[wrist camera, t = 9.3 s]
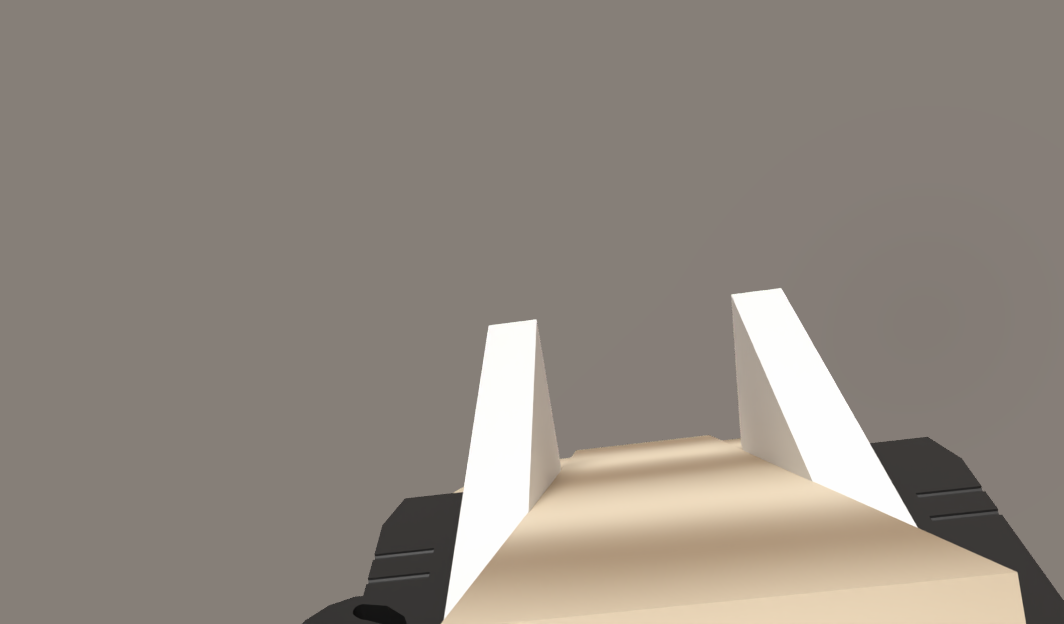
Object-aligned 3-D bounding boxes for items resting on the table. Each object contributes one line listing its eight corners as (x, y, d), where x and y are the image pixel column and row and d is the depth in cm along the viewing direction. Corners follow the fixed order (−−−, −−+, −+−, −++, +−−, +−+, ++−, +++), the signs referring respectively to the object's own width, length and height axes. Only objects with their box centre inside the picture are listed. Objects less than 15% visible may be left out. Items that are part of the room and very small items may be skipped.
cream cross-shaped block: (2018, 1182, 4) (1841, 490, 4) (-191, 1272, 5) (-213, 694, 5) (786, 488, 34) (774, 407, 34) (505, 519, 35) (496, 439, 35)
